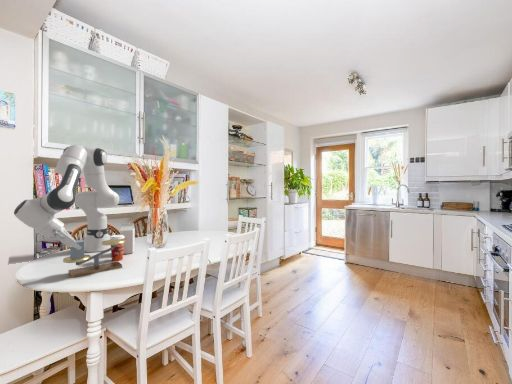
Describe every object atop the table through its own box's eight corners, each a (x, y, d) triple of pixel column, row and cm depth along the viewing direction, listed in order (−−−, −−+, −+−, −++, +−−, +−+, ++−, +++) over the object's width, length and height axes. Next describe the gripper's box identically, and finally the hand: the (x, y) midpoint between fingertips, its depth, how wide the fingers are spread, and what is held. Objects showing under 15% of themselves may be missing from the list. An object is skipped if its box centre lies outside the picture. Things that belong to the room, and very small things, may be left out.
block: (70, 257, 122) (70, 241, 121) (82, 255, 125) (82, 239, 125) (71, 259, 118) (71, 243, 118) (84, 257, 122) (84, 241, 121)
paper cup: (118, 262, 141) (118, 237, 141) (106, 261, 143) (106, 236, 142) (127, 258, 149) (127, 234, 148) (116, 257, 150) (116, 234, 150)
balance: (61, 273, 122) (61, 245, 122) (122, 262, 141) (122, 238, 140) (64, 280, 114) (64, 250, 114) (128, 267, 133) (128, 241, 132)
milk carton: (132, 253, 158) (132, 224, 158) (120, 254, 156) (120, 224, 156) (134, 250, 165) (134, 222, 164) (122, 251, 163) (123, 222, 162)
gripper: (61, 226, 109) (88, 245, 116) (56, 221, 124) (80, 238, 131) (48, 238, 106) (76, 256, 113) (45, 231, 121) (70, 247, 128)
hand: (78, 246), depth 122 cm, fingers open, 8 cm apart
